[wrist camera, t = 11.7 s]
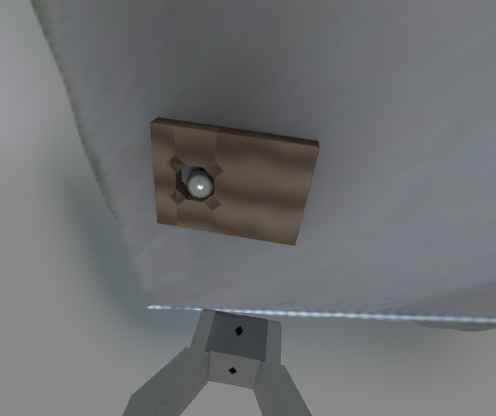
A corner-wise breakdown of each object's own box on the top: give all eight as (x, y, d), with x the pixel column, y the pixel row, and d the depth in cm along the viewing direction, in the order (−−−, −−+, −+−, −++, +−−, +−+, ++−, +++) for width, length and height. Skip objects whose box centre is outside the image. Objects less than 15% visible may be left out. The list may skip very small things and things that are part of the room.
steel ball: (184, 166, 41) (192, 179, 38) (210, 165, 43) (220, 177, 40) (182, 190, 43) (190, 204, 40) (207, 188, 45) (216, 202, 42)
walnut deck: (157, 117, 39) (150, 122, 37) (317, 141, 38) (319, 147, 36) (163, 214, 48) (157, 223, 45) (294, 236, 46) (294, 245, 44)
